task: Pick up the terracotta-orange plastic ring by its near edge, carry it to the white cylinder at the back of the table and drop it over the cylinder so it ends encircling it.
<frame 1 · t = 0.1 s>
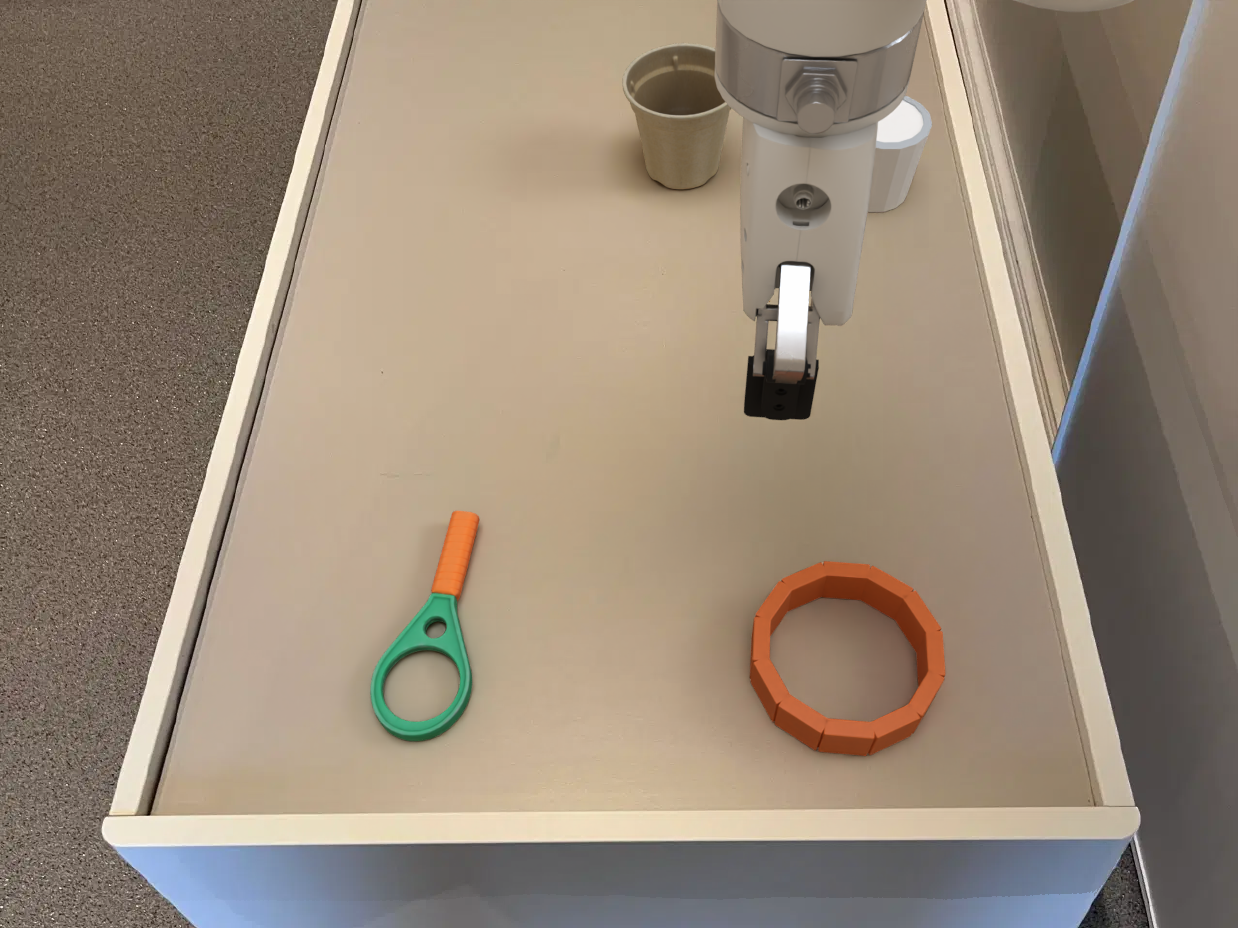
hand: (778, 337, 54), 19 cm above the table, tool pointing down, fingers open, 9 cm apart
flower pot: (681, 167, 90), on the table
ring: (841, 665, 64), on the table
magnifying glass: (441, 627, 67), on the table
white cylinder: (872, 190, 87), on the table
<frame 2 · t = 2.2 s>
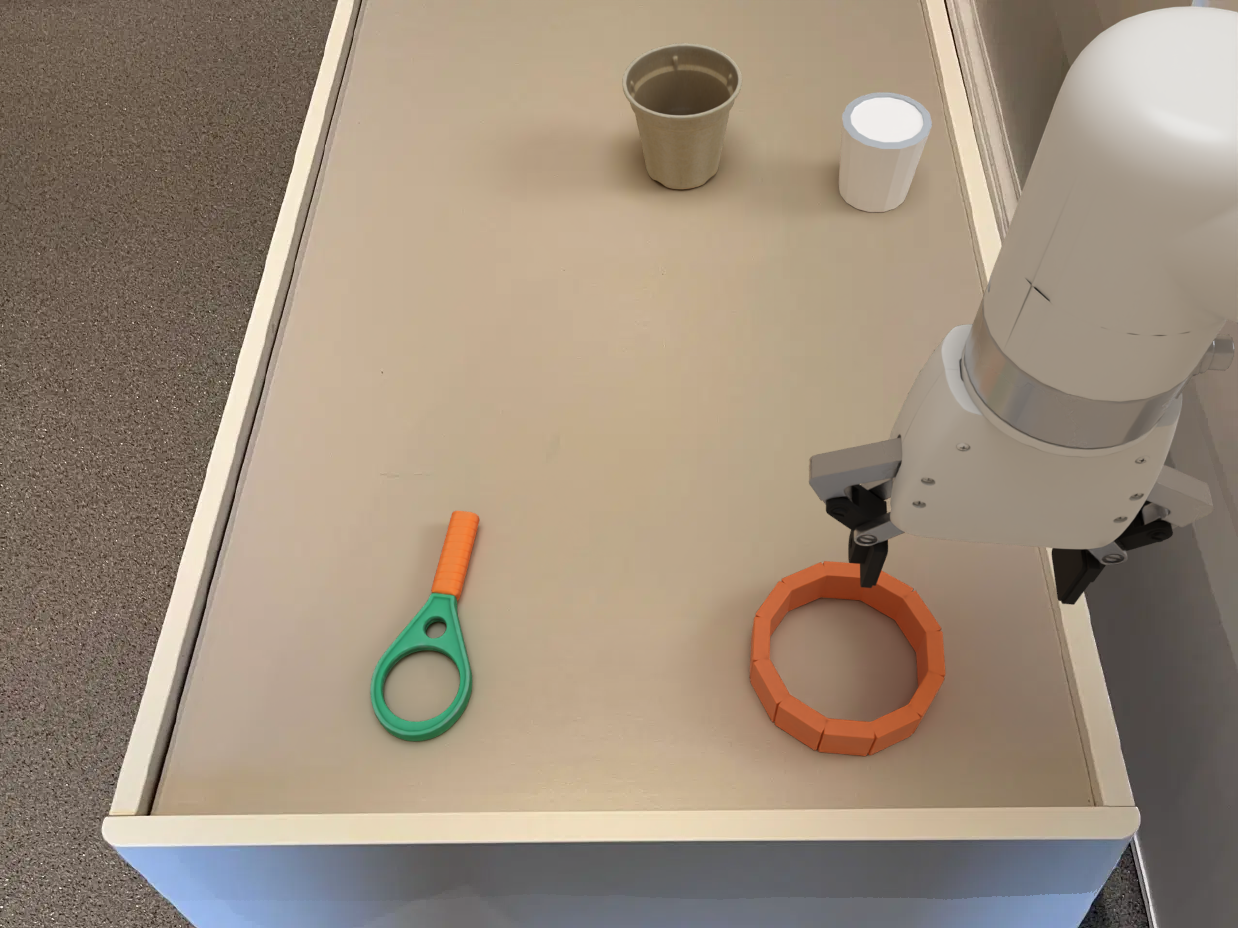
hand: (963, 570, 53), 13 cm above the table, tool pointing down, fingers open, 9 cm apart
nothing on the table moved.
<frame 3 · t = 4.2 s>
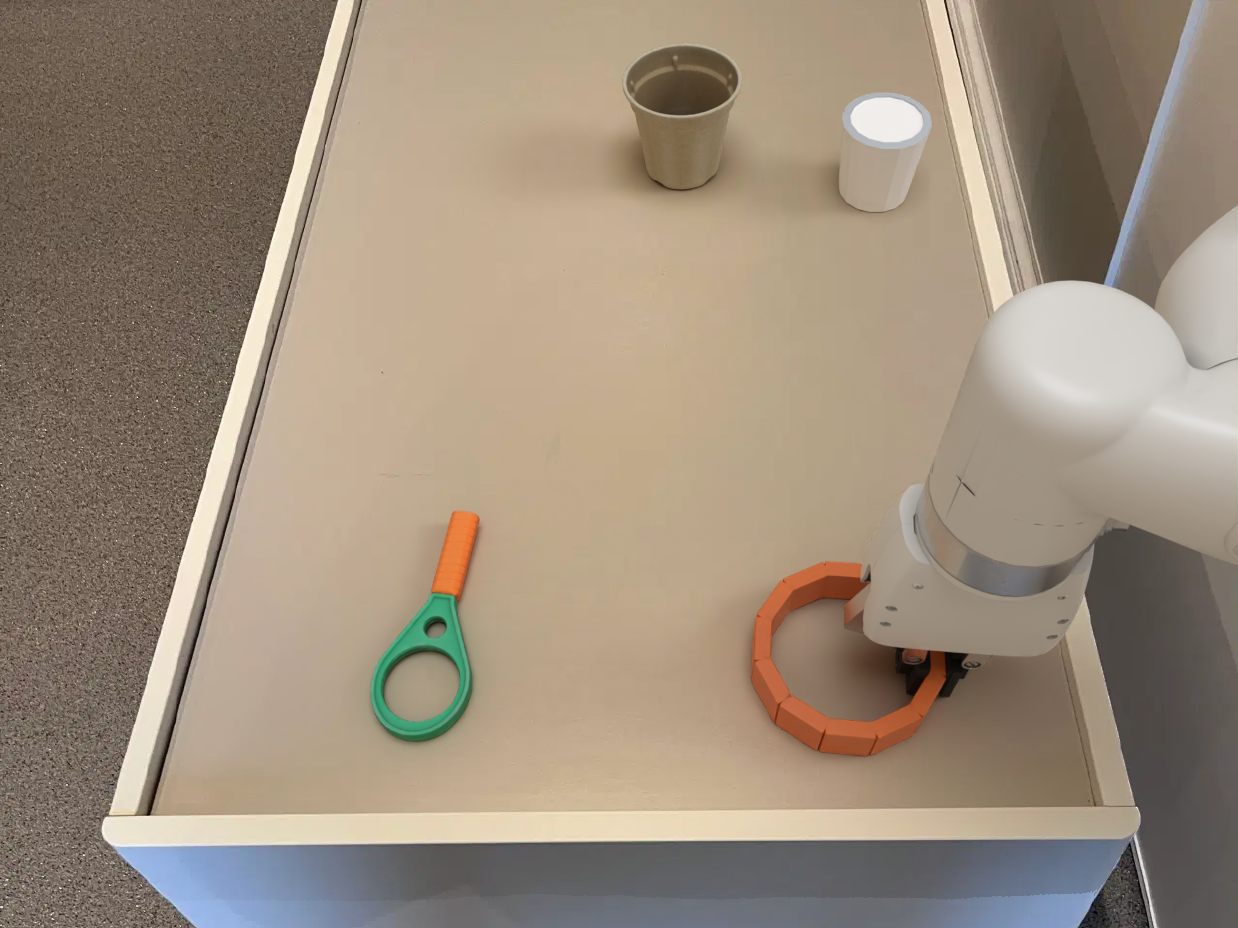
hand: (925, 671, 63), 0 cm above the table, tool pointing down, fingers closed on ring
ring: (842, 665, 64), on the table, touching gripper
everything else where it was.
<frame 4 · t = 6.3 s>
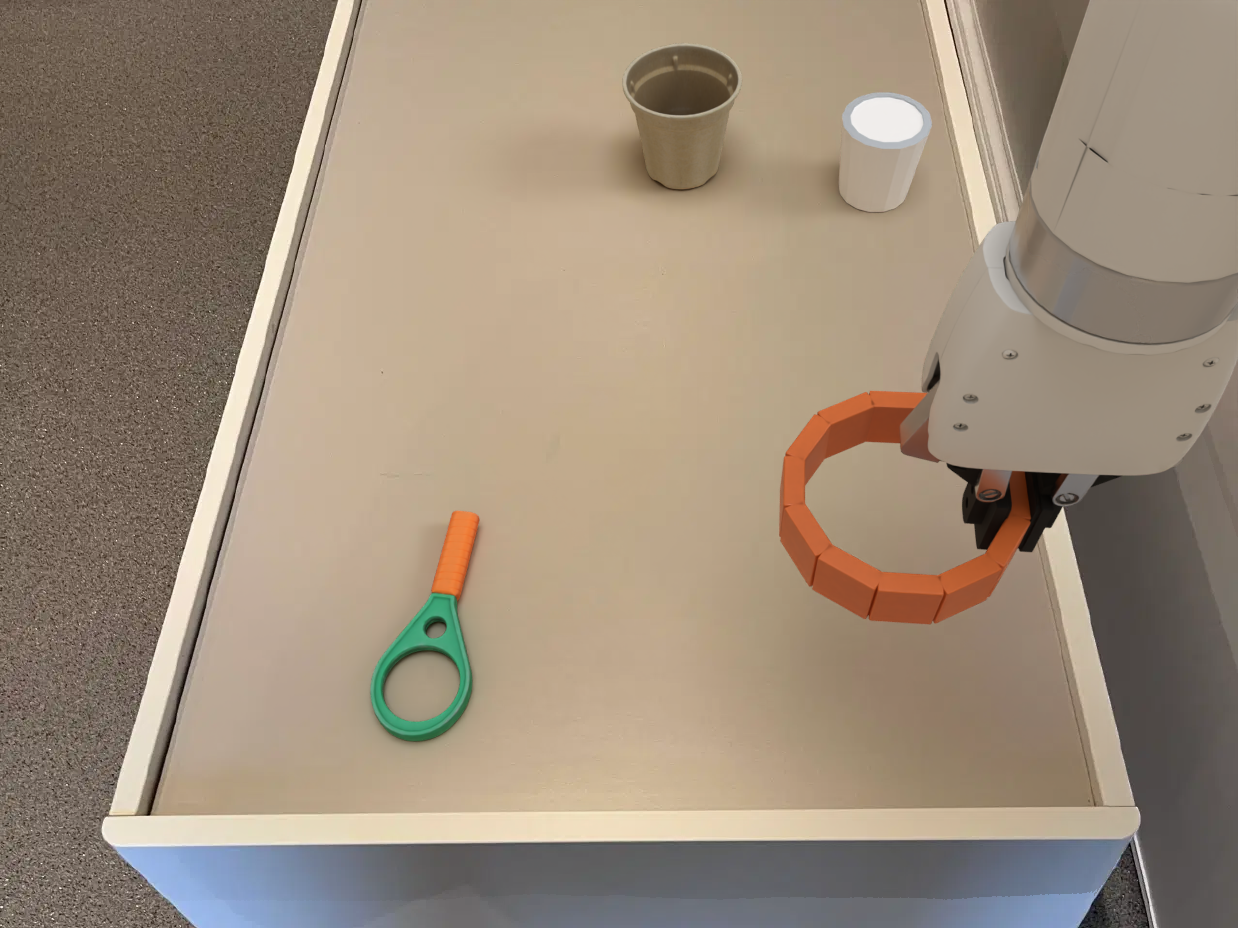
hand: (1000, 523, 50), 16 cm above the table, tool pointing down, fingers closed on ring
ring: (894, 519, 51), point 16 cm above the table, touching gripper
everything else where it was.
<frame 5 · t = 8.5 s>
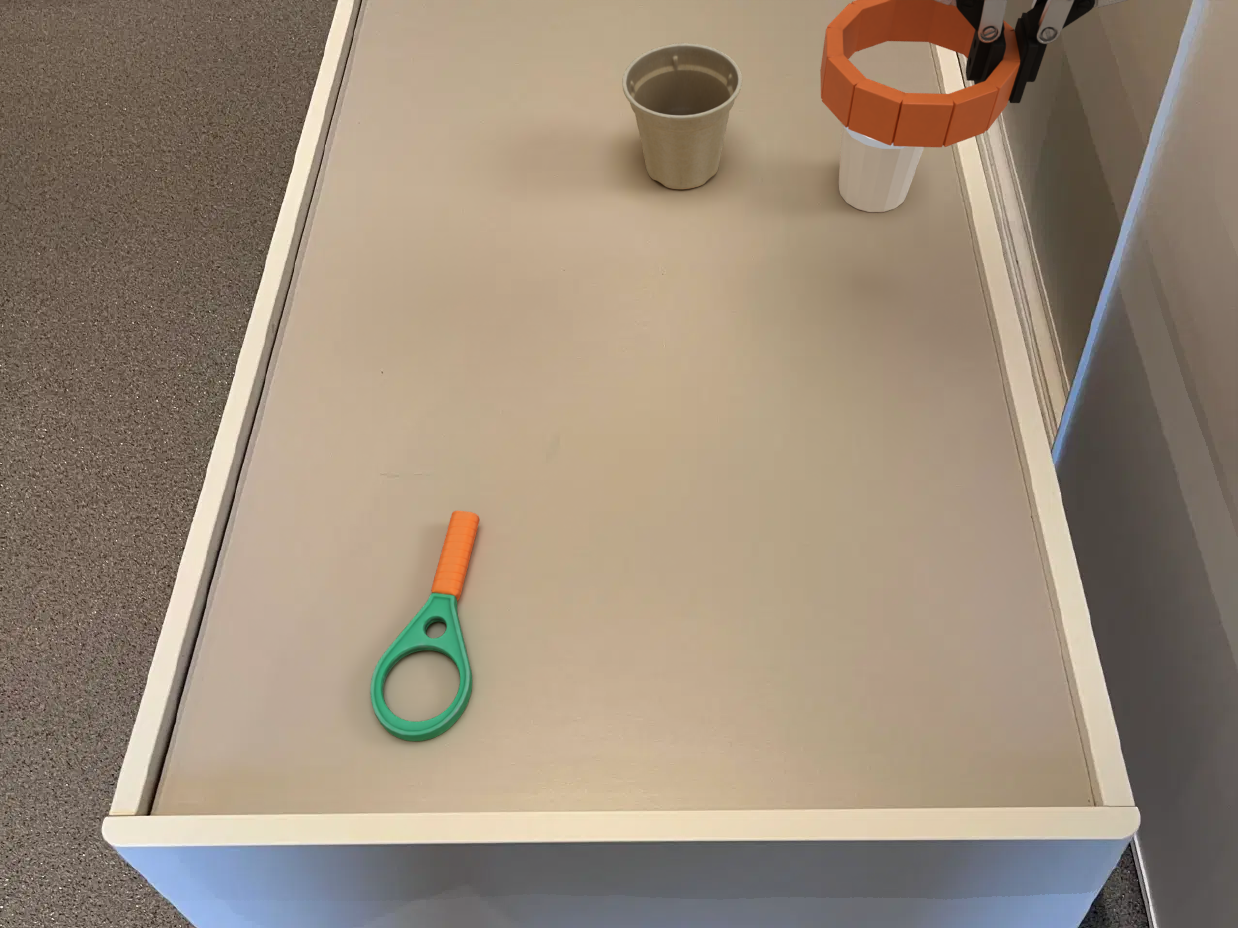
hand: (995, 87, 63), 19 cm above the table, tool pointing down, fingers closed on ring
ring: (912, 87, 64), point 19 cm above the table, touching gripper
everything else where it was.
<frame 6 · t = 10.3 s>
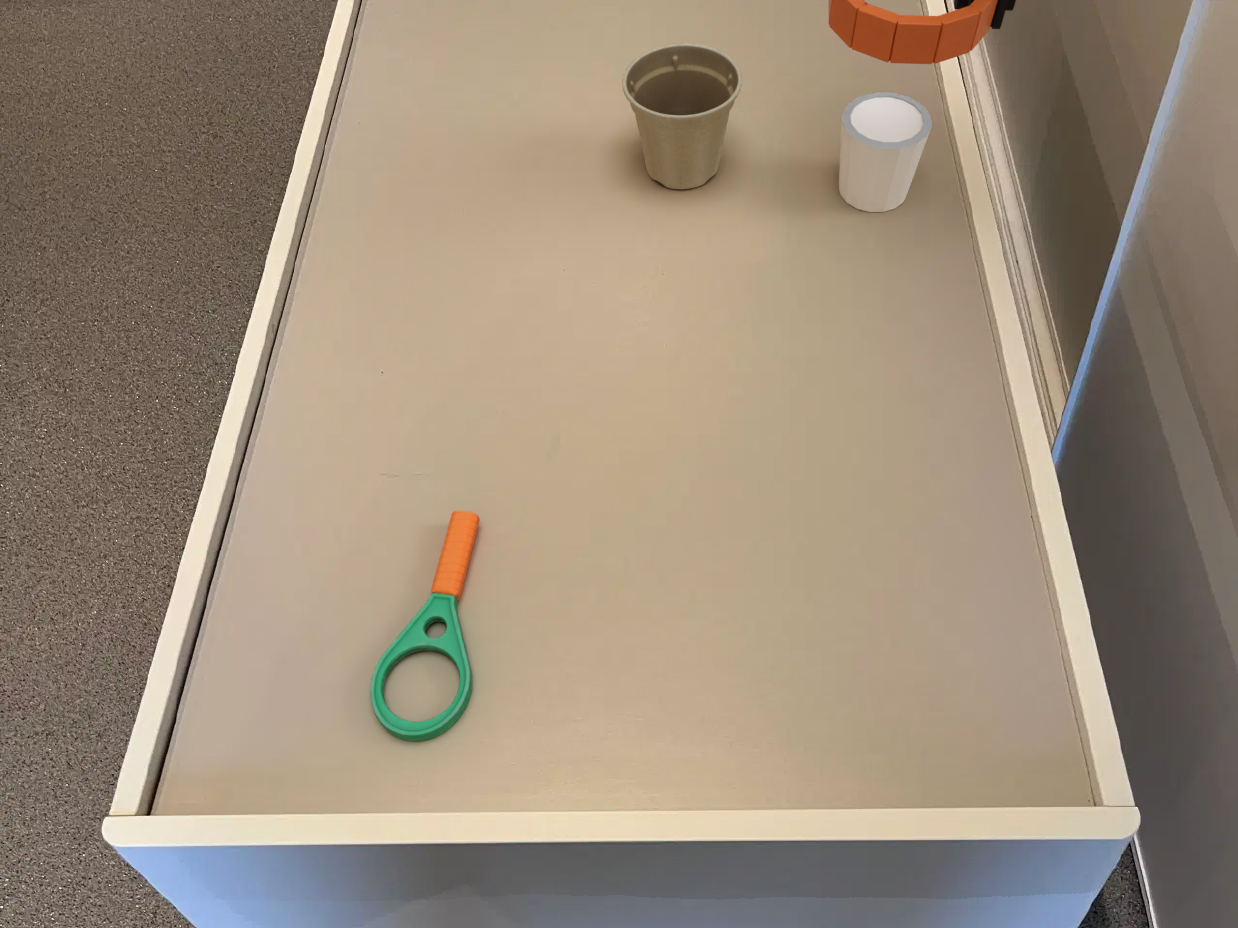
hand: (979, 16, 73), 16 cm above the table, tool pointing down, fingers closed on ring
ring: (907, 15, 74), point 16 cm above the table, touching gripper
everything else where it was.
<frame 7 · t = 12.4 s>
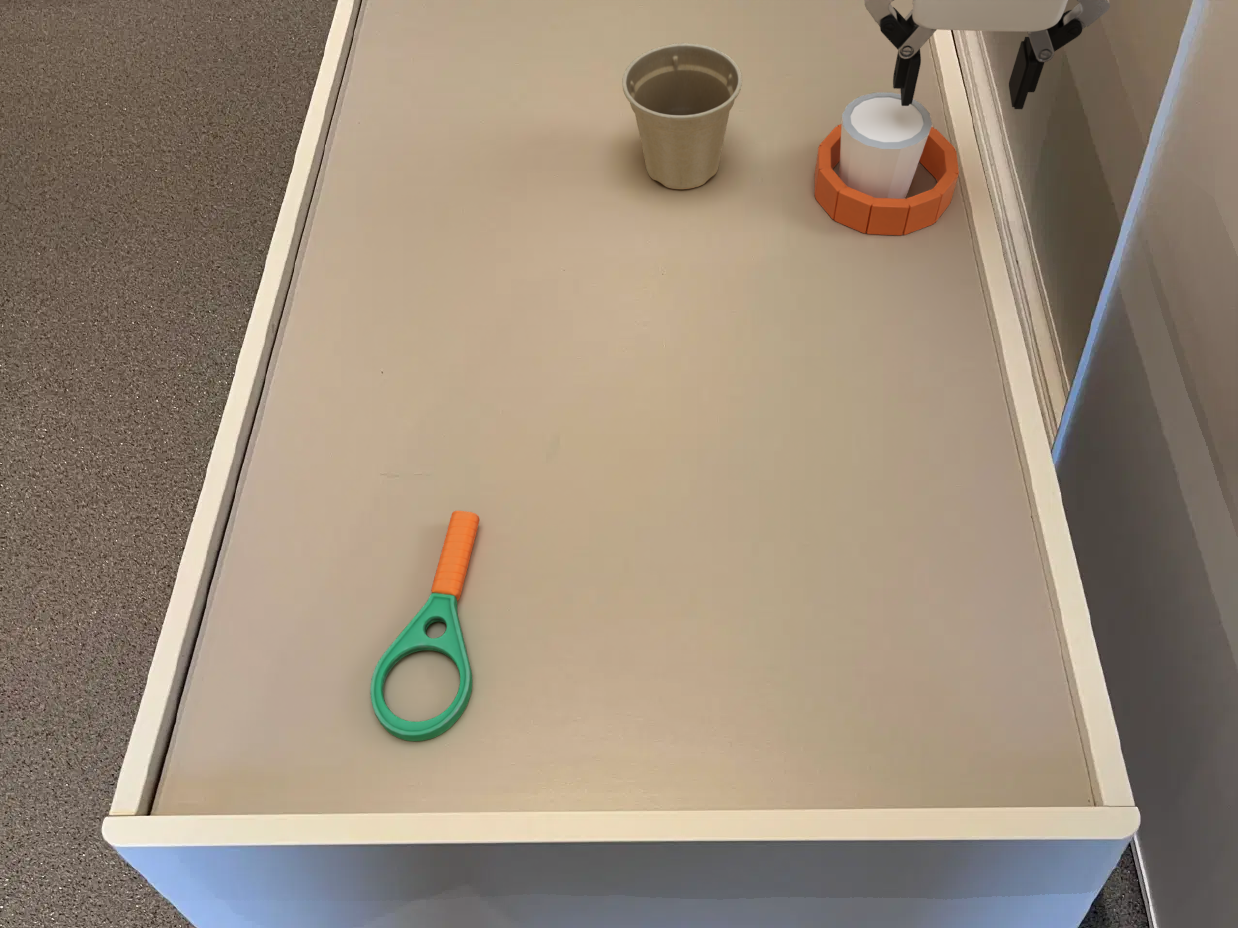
hand: (960, 94, 79), 9 cm above the table, tool pointing down, fingers open, 7 cm apart
ring: (881, 188, 87), on the table
everything else where it was.
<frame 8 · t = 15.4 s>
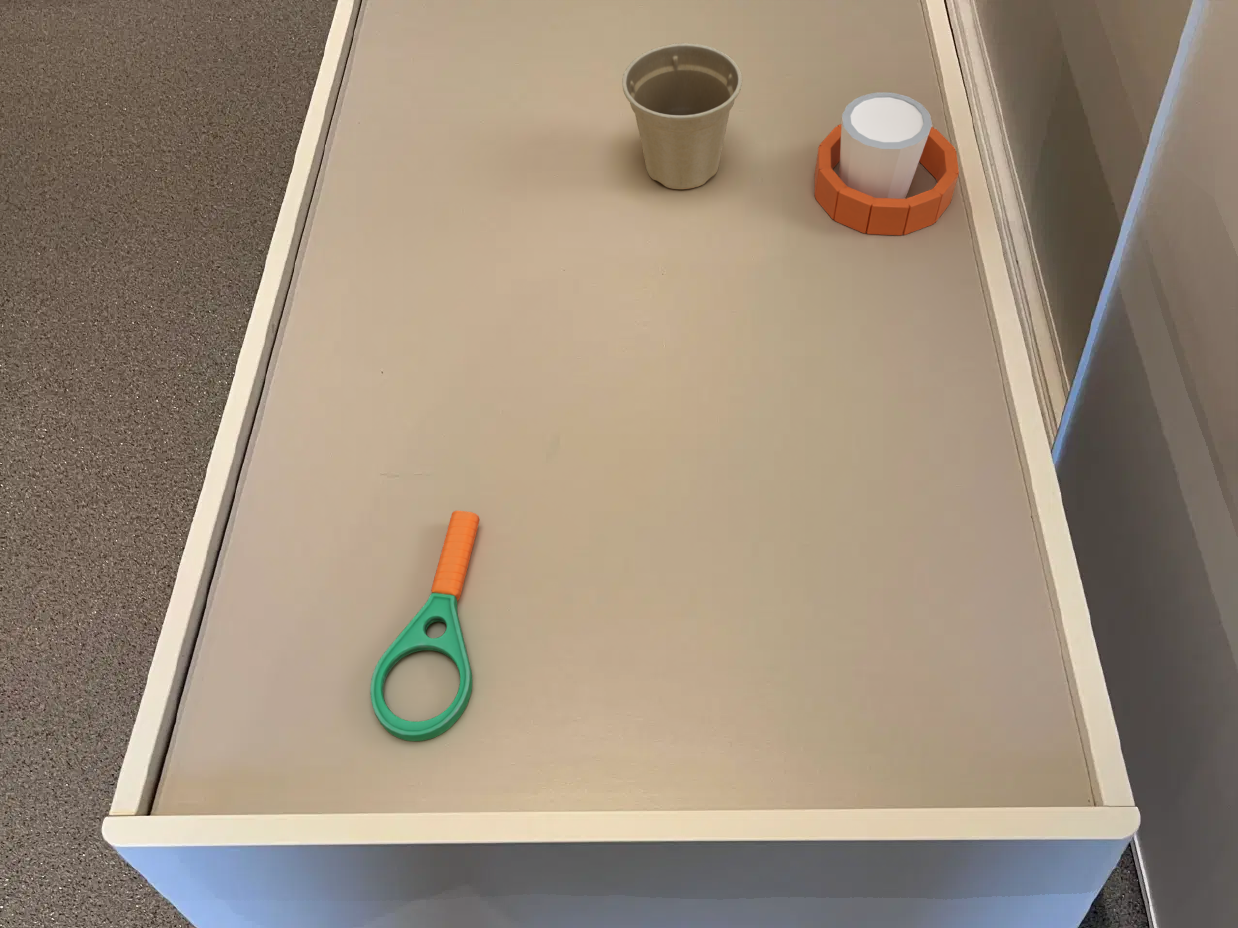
nothing on the table moved.
at the end: ring 0.7 cm from the white cylinder (horizontally); ring on the table; white cylinder tilted 0° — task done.
